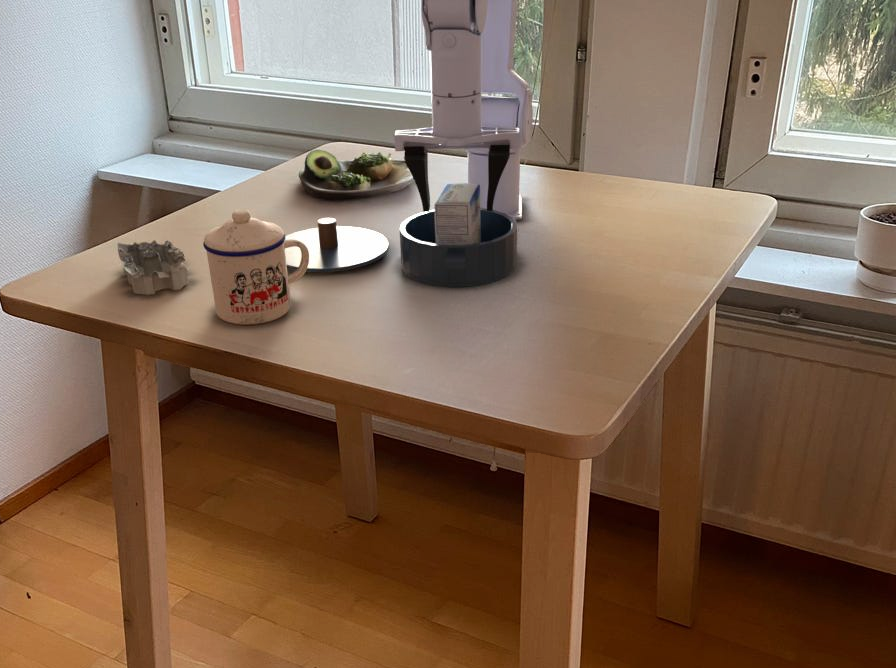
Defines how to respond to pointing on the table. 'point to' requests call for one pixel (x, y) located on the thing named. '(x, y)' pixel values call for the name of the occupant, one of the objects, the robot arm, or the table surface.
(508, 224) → the pot
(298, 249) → the pot lid
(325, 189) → the salad plate
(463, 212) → the medicine box
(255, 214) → the table surface
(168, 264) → the egg carton
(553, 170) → the table surface
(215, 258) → the teacup with lid
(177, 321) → the table surface
